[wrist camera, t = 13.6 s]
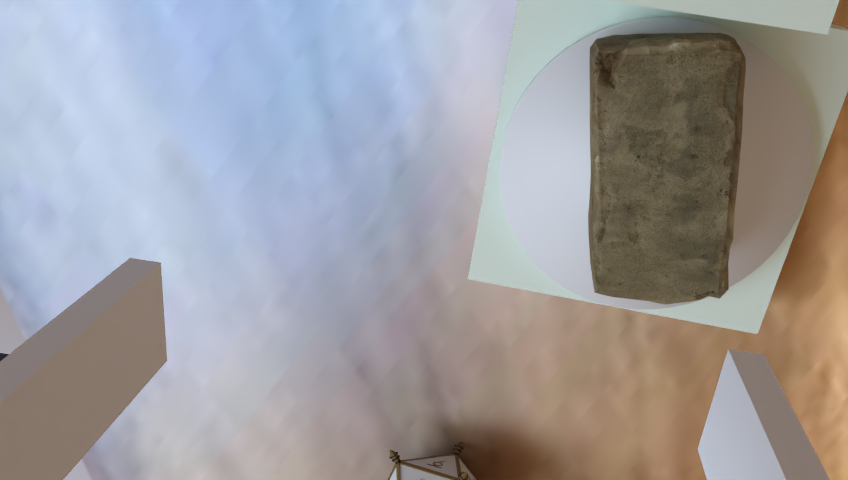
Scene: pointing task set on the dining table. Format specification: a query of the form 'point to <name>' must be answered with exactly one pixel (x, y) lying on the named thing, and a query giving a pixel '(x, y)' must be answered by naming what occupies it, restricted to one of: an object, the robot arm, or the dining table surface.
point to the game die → (431, 467)
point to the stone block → (664, 164)
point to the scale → (570, 143)
